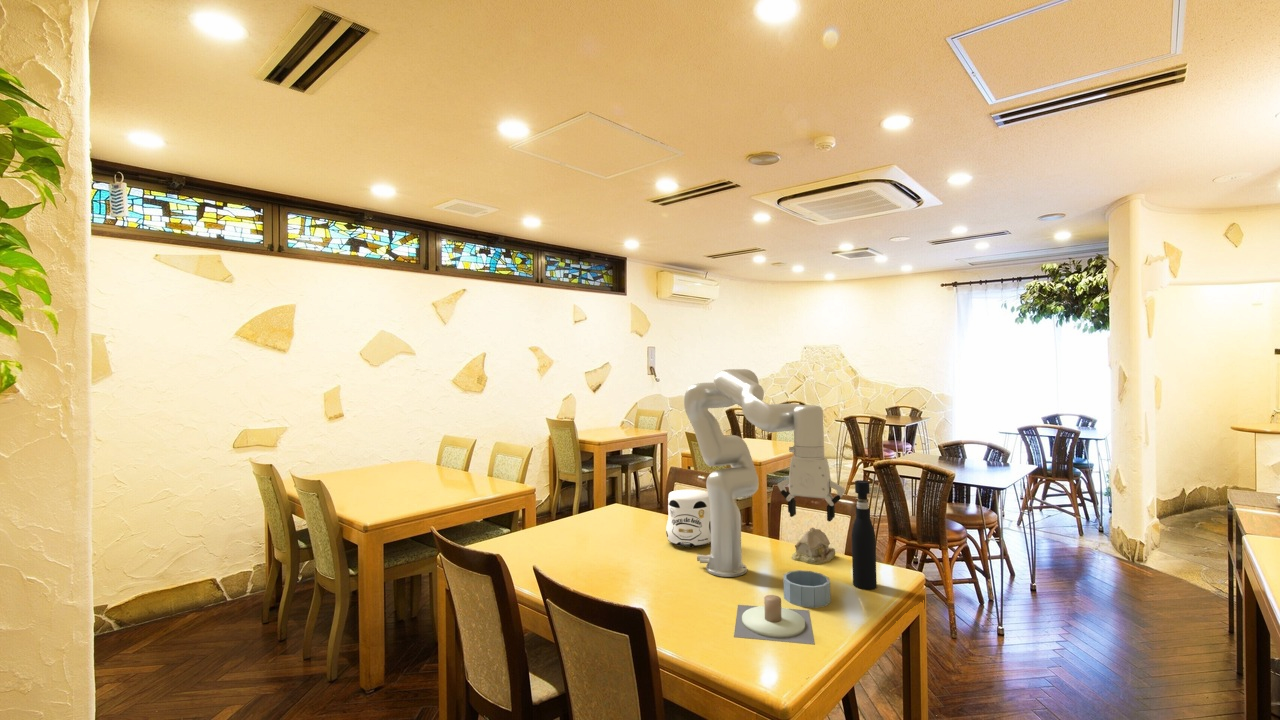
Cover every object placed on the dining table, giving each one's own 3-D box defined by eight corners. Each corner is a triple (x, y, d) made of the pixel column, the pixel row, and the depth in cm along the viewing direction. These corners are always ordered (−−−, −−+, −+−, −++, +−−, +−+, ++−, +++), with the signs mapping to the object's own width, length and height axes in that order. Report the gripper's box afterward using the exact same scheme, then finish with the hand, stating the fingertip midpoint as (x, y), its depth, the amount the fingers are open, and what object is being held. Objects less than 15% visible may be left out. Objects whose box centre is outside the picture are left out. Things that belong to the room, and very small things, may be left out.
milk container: (678, 553, 189) (677, 501, 189) (658, 539, 205) (658, 491, 206) (722, 547, 195) (721, 496, 196) (700, 534, 211) (699, 487, 212)
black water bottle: (848, 581, 161) (846, 479, 162) (869, 580, 162) (867, 479, 163) (859, 590, 155) (856, 484, 156) (881, 589, 156) (878, 483, 156)
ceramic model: (812, 567, 175) (811, 535, 175) (785, 557, 184) (785, 527, 184) (841, 558, 182) (840, 528, 182) (814, 549, 191) (813, 520, 192)
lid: (740, 634, 129) (740, 608, 129) (743, 607, 143) (742, 584, 143) (807, 640, 125) (806, 614, 125) (803, 612, 140) (802, 588, 140)
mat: (733, 640, 128) (733, 636, 128) (737, 607, 145) (737, 604, 145) (814, 647, 123) (814, 644, 123) (808, 613, 141) (808, 610, 141)
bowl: (784, 608, 144) (784, 585, 144) (783, 590, 156) (782, 569, 156) (832, 612, 142) (832, 588, 142) (827, 593, 153) (827, 572, 153)
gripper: (772, 452, 146) (774, 517, 145) (840, 456, 136) (842, 525, 136) (781, 448, 152) (783, 511, 151) (846, 452, 143) (848, 518, 142)
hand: (811, 517), depth 144 cm, fingers open, 9 cm apart
